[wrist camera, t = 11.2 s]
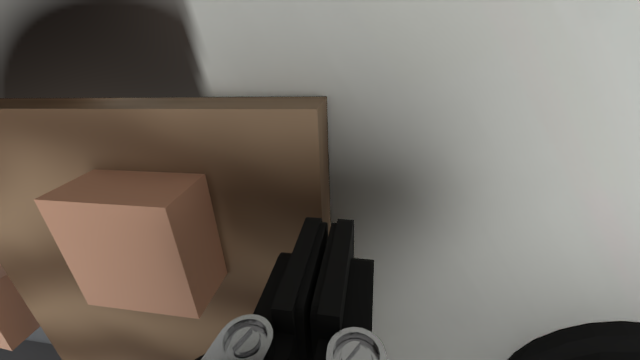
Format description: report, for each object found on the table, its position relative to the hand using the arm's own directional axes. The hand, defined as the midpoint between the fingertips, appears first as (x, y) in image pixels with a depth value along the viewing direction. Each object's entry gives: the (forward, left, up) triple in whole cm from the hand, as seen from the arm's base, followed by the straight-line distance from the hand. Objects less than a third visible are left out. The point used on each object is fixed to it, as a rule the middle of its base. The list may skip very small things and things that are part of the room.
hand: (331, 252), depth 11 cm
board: (-4, +10, -3) cm, 11 cm away
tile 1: (0, +8, -1) cm, 8 cm away
